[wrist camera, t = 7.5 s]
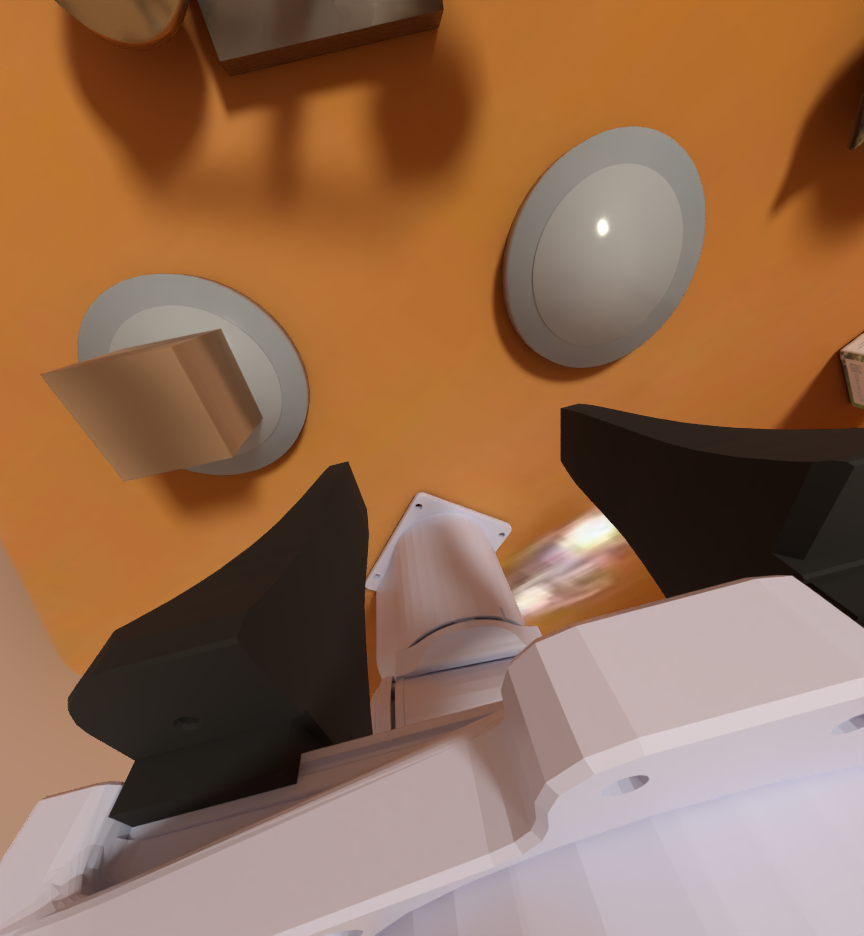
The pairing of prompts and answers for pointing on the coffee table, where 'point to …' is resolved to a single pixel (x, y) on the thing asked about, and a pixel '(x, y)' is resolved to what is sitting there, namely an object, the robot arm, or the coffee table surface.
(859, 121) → the ceramic sculpture
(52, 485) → the coffee table surface
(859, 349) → the syrup box
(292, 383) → the left dish
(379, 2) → the bronze balance
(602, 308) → the right dish
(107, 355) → the walnut block
